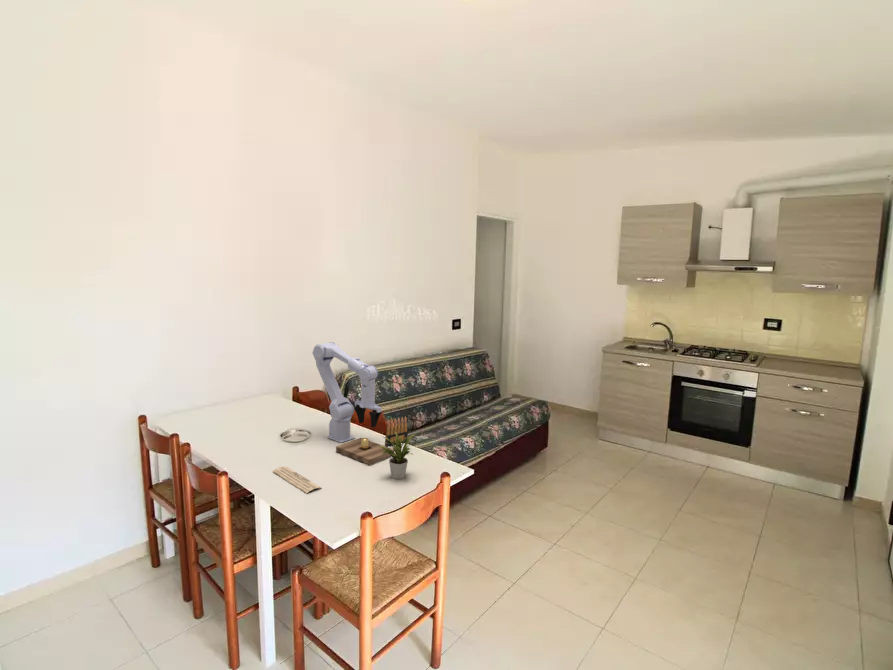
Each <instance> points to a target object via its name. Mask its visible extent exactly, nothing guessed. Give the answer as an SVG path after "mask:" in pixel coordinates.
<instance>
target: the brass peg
mask: <svg viewBox="0 0 893 670" xmlns="http://www.w3.org/2000/svg"><path fill="white" fill-rule="evenodd" d="M361 438H362V439H361V450H364V451H366V450H368V446H369V441H370V439H369V438H368V437H361Z"/></svg>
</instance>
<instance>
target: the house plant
mask: <svg viewBox="0 0 893 670" xmlns="http://www.w3.org/2000/svg"><path fill="white" fill-rule="evenodd" d="M415 435H416V434H412V435H410V436H408V437H406V438H408V439H407V440H406V438H405V439H404V441H405V440H406V442H405V443H404V441H403V443H402V438H401V436H400V438H399V439H398V434H397V433H396V442H395V440H394V439H393V440H394V442H395V444H396V445H394V443H393V442H392V441H391V440H390V439H388V438H386V439H388V440H389V442H390V443H392V444H391V445H393V446H391V448H392V449H393V450H394V452H393V451H392V450H390V449H388V448H389V447H388V448H386V446H385V447H383V446H384V445H383V446H379V447H381V448H383V449H384V450H386V451H384V452H383V453H382V454H385V453H389V454H390V455H391V457H390V459H389V460H388V463H389V468H390V470H389V471H390V477H391V478H392V479H394V480H401V479H404V478H405V476H406V473H407V469H408V463H409V460H408V459H407V458H406V456H407V455H412V456H414V453H412V452H411V448H409V446H410V445H411V444H412V443H413V442H414V439H413V437H414V436H415ZM382 438H384V444H385V443H386V442H385V440H386V439H385V436H382ZM412 439H413V440H412ZM411 440H412V442H410V441H411ZM401 443H402V444H401ZM387 444H388V443H387ZM408 444H409V445H408ZM410 452H411V453H410Z"/></svg>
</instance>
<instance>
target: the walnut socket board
mask: <svg viewBox="0 0 893 670" xmlns="http://www.w3.org/2000/svg"><path fill="white" fill-rule="evenodd" d="M362 438H363V437H359V438H355V439H352V440H349V441H348V442H347V441H346V442H343V443H342V444H339V445H336V446H335V453H337V454H340V455H342V456H345V457H347V458H350V459H352V460H354V461H356V462H360V463H362V464H364V465H367V466H372V465H375V464H378V463H379V462H382V461H384V460H387V459H389V458H392V456H391V455H390V454H389V453H385V454H382V453H383V452H384V451H386V450H384V449H383V448H381V447H379V446H383V447H386V446H385V445H382V444H379V443H377V442H374V441H371V440H369V446H368V450H366V451H364V450H361V439H362ZM386 448H388V449H390V450H392V451H393V452H394V450H393V448H392V447H391V448H390V447H386ZM394 453H395V452H394Z"/></svg>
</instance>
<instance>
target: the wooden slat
mask: <svg viewBox="0 0 893 670" xmlns="http://www.w3.org/2000/svg"><path fill="white" fill-rule="evenodd" d="M272 473H273V474H274V475H276V476H278V477H279V478H281V479H282V480H284V481H285V482H286V483H288V484H289V485H292V486H294V487H295V488H296V489H298V490H299V491H301V492H302V493H304V494H306V495H307V494H308V493H310V492H311V491H313V490H314V489H319V490H322V489H323V487H321V486H320V485H318V484H316V483H314V482H313V481H311V480H310V479H308V478H307V477H305V476H303V475H301V474H300V473H298V472H297V471H294V470H293V469H292V468H290V467H289V466H280V467H279V466H278V468H276V469H274V470H272Z"/></svg>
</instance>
